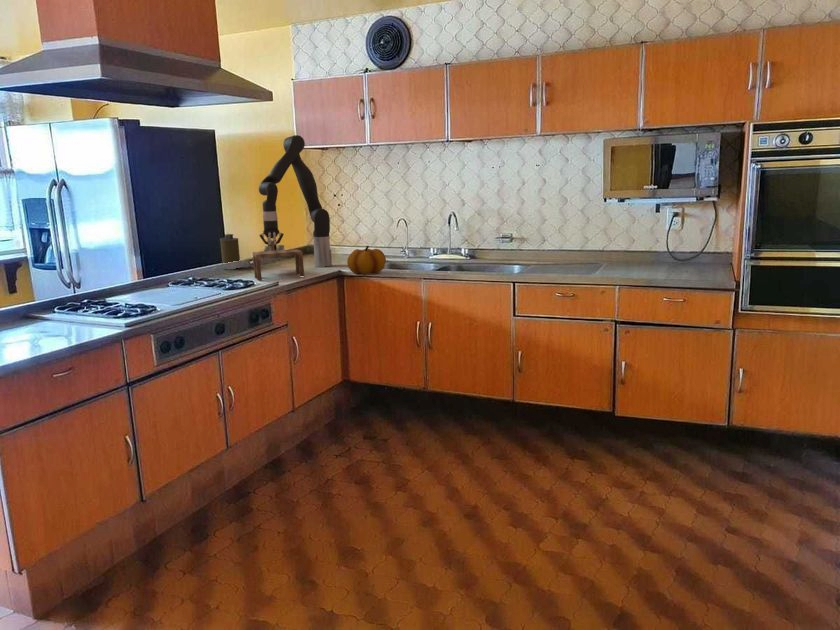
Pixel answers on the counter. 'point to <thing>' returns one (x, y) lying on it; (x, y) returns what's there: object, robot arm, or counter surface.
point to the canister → (229, 249)
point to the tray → (271, 248)
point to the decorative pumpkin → (366, 261)
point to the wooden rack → (295, 252)
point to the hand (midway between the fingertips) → (272, 251)
